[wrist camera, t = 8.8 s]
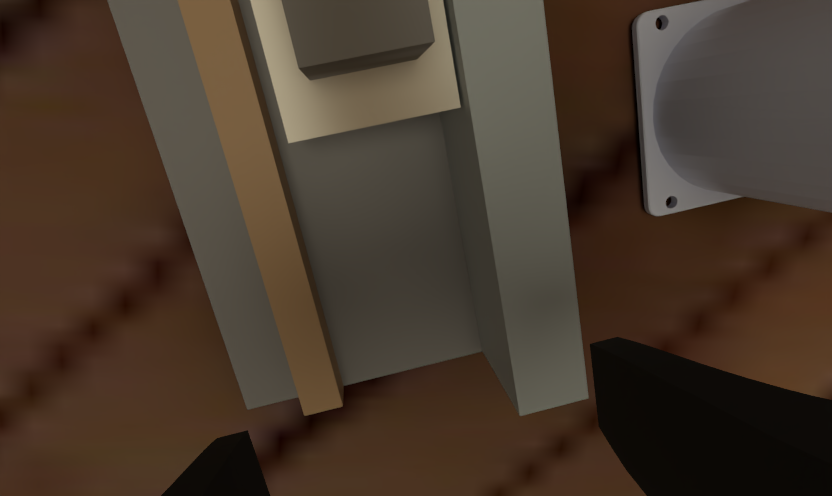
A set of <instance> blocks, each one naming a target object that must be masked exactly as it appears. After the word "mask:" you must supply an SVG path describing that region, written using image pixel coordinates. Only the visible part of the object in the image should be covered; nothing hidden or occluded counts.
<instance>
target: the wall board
mask: <svg viewBox="0 0 832 496" xmlns="http://www.w3.org/2000/svg"><path fill="white" fill-rule="evenodd" d="M107 1H108V3H109V6H110V9H111V12H112V15H113V18H114V21H115V24H116V27H117V30H118V33H119V36H120V39H121V41H122V44H123V47H124V50H125V53H126V56H127V59H128V62H129V65H130V68H131V71H132V74H133V77H134V80H135V82H136V85H137V88H138V91H139V94H140V97H141V100H142V103H143V106H144V109H145V112H146V115H147V118H148V120H149V123H150V126H151V129H152V132H153V135H154V138H155V141H156V144H157V147H158V150H159V153H160V156H161V158H162V161H163V164H164V167H165V170H166V173H167V176H168V179H169V182H170V185H171V188H172V191H173V194H174V197H175V199H176V202H177V205H178V208H179V211H180V214H181V217H182V220H183V223H184V226H185V229H186V232H187V235H188V237H189V240H190V243H191V246H192V249H193V252H194V255H195V258H196V261H197V264H198V267H199V270H200V273H201V275H202V278H203V281H204V284H205V287H206V290H207V293H208V296H209V299H210V302H211V305H212V308H213V311H214V314H215V316H216V319H217V322H218V325H219V328H220V331H221V334H222V337H223V340H224V343H225V346H226V349H227V352H228V354H229V357H230V360H231V363H232V366H233V369H234V372H235V375H236V378H237V381H238V384H239V387H240V390H241V392H242V395H243V398H244V401H245V404H246V407H247V410H248V409H252V408H256V407H260V406H264V405H269V404H273V403H277V402H281V401H285V400H289V399H293V398H297V397H299V400H300V403H301V406H302V410H303V413H304V416H306V415H310V414H314V413H318V412H322V411H326V410H330V409H334V408H338V407H342V406H343V386H345V385H349V384H353V383H357V382H361V381H365V380H369V379H373V378H377V377H381V376H385V375H389V374H393V373H397V372H401V371H405V370H409V369H413V368H417V367H421V366H425V365H429V364H433V363H437V362H441V361H445V360H449V359H454V358H458V357H462V356H466V355H470V354H474V353H478V352H482V351H483V353H484V355H485V357H486V358H487V360H488V362H489V364H490V365H491V367H492V369H493V370H494V372H495V374H496V376H497V377H498V379H499V381H500V383H501V384H502V386H503V388H504V389H505V391H506V393H507V395H508V396H509V398H510V400H511V402H512V403H513V405H514V407H515V408H516V410H517V412H518V414H519V415H520V416H522V415H526V414H530V413H534V412H538V411H542V410H545V409H549V408H553V407H557V406H561V405H565V404H568V403H572V402H576V401H580V400H584V399H588V398H589V397H588V389H587V380H586V371H585V362H584V354H583V345H582V336H581V327H580V319H579V310H578V301H577V292H576V284H575V275H574V266H573V257H572V249H571V240H570V231H569V222H568V214H567V205H566V196H565V188H564V179H563V170H562V161H561V153H560V144H559V135H558V126H557V118H556V109H555V100H554V91H553V83H552V74H551V65H550V56H549V48H548V39H547V30H546V21H545V13H544V4H543V0H443V3H444V9H445V15H446V21H447V27H448V33H449V39H450V45H451V51H452V57H453V63H454V69H455V75H456V81H457V87H458V93H459V99H460V105H461V108H456V109H451V110H446V111H441V112H437V113H432V114H427V115H422V116H417V117H413V118H408V119H403V120H398V121H393V122H389V123H384V124H379V125H374V126H369V127H365V128H360V129H355V130H350V131H345V132H341V133H336V134H331V135H326V136H321V137H316V138H312V139H307V140H302V141H297V142H292V143H288V140H287V136H286V132H285V129H284V125H283V121H282V117H281V114H280V110H279V106H278V102H277V99H276V95H275V91H274V87H273V84H272V80H271V76H270V72H269V69H268V65H267V61H266V57H265V54H264V50H263V46H262V43H261V39H260V35H259V31H258V28H257V24H256V20H255V16H254V13H253V9H252V5H251V1H250V0H107Z"/></svg>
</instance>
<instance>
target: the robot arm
mask: <svg viewBox="0 0 832 496" xmlns="http://www.w3.org/2000/svg"><path fill="white" fill-rule="evenodd" d="M657 18H659V19H661V21H662V27H661V29H660V30H659V29H657V28H656V24H655V23H656V19H657ZM632 37H633V51H634V66H635V80H636V95H637V109H638V124H639V138H640V153H641V167H642V182H643V196H644V207H645V210H646V212H647V213H648V214H651V215H654V216H663V215H667V214H671V213H676V212H680V211H684V210H689V209H693V208H697V207H701V206H706V205H710V204H714V203H718V202H723V201H727V200H731V199H736V198H740V197H750V198H755V199H761V200H766V201H771V202H777V203H782V204H788V205H793V206H799V207H804V208H810V209H815V210H820V211H826V212H831V213H832V0H702V1H697V2H692V3H687V4H682V5H677V6H671V7H666V8H661V9H656V10H651V11H647V12H645V13H642V14H640V15H638V16H637V17H636V18H635V20H634V22H633V24H632ZM668 197H671V203H670V204H669V205H668V206H667V207H666V200H667V198H668ZM590 350H591V359H592V368H593V377H594V386H595V395H596V404H597V413H598V423H599V427H600V429H601V431H602V432H603V434H604V436H605V437H606V439H607V441H608V442H609V444H610V445H611V447H612V449H613V450H614V452H615V453H616V455H617V456H618V458H619V460H620V461H621V463H622V464H623V466H624V467H625V469H626V470H627V471H628V473H629V474H630V475H631V476H632V478H633V479H634V480H635V481H636V483H637V484H638V485H639V486H640V488H641V489H642V490H643V491H644V493H645V494H646V495H647V496H832V400H829V399H824V398H820V397H815V396H811V395H807V394H803V393H799V392H795V391H791V390H787V389H784V388H780V387H777V386H773V385H770V384H766V383H762V382H759V381H755V380H752V379H748V378H745V377H742V376H738V375H735V374H732V373H729V372H725V371H722V370H719V369H716V368H713V367H710V366H707V365H704V364H701V363H698V362H695V361H692V360H689V359H686V358H683V357H680V356H677V355H674V354H671V353H668V352H665V351H662V350H659V349H656V348H653V347H650V346H647V345H644V344H641V343H637V342H634V341H631V340H627V339H623V338H619V337H616V338H612V339H608V340H604V341H600V342H596V343H592V344H590ZM161 496H270V494H269V491H268V488H267V485H266V482H265V479H264V476H263V474H262V471H261V468H260V465H259V462H258V459H257V456H256V453H255V450H254V448H253V445H252V442H251V439H250V436H249V433H248V431H244V432H240V433H236V434H232V435H228V436H224V437H220V438H217V439H216V440H215V441H213V442H212V443H211V444H210V445H209V446H208V447H207V448H206V449H205V450H204V451H203V452H202V453H201V454H200V455H199V456H198V457H197V458H196V459H195V460H194V461H193V462H192V464H191V465H190V466H189V467H188V468H187V469H186V470H185V471H184V472H183V473H182V474H181V475H180V476H179V477H178V478H177V480H176V481H175V482H174V483H173V484H172V485H171V486H170V487H169V488H168V489H167V490H166V491H165V492H164V493H163V494H162V495H161Z"/></svg>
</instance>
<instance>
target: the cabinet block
mask: <svg viewBox="0 0 832 496" xmlns="http://www.w3.org/2000/svg"><path fill="white" fill-rule="evenodd" d="M250 1H251V5H252V9H253V13H254V16H255V20H256V24H257V28H258V31H259V35H260V39H261V43H262V46H263V50H264V54H265V57H266V61H267V65H268V69H269V72H270V76H271V80H272V84H273V87H274V91H275V95H276V99H277V102H278V106H279V110H280V114H281V117H282V121H283V125H284V129H285V132H286V136H287V140H288V143H292V142H297V141H302V140H307V139H312V138H316V137H321V136H326V135H331V134H336V133H341V132H345V131H350V130H355V129H360V128H365V127H369V126H374V125H379V124H384V123H389V122H393V121H398V120H403V119H408V118H413V117H417V116H422V115H427V114H432V113H437V112H441V111H446V110H451V109H456V108H461V105H460V99H459V93H458V87H457V81H456V75H455V69H454V63H453V57H452V51H451V45H450V39H449V33H448V27H447V21H446V15H445V9H444V3H443V0H250Z"/></svg>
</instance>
